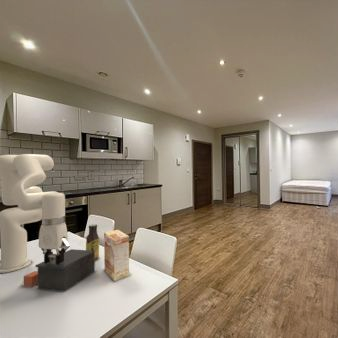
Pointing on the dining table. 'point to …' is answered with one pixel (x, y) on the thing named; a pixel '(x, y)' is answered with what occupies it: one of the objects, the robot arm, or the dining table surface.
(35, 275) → the block
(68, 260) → the box lid with handle
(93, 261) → the dark grey hollow box
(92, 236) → the sauce bottle
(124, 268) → the coffeecake box
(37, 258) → the dining table surface
